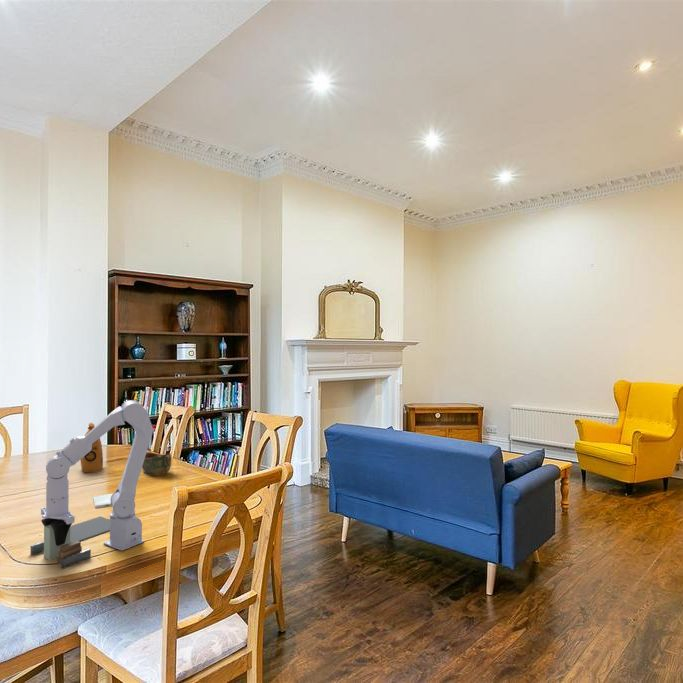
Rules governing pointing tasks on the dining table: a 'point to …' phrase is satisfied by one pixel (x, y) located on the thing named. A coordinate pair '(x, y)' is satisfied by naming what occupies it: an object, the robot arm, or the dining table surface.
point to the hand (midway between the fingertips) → (57, 543)
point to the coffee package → (93, 456)
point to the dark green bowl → (156, 464)
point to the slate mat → (89, 529)
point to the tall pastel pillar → (52, 543)
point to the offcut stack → (69, 550)
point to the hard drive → (102, 500)
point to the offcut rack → (67, 560)
